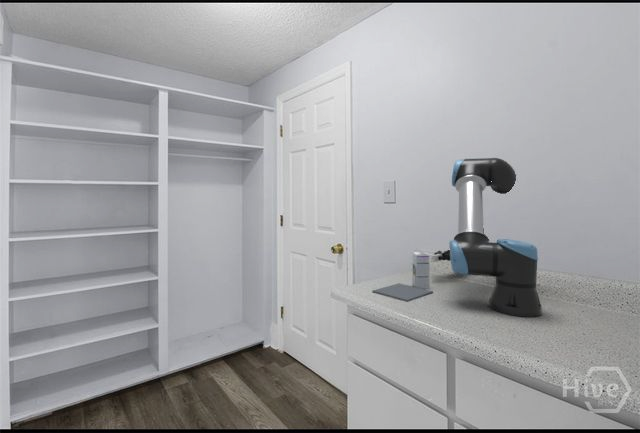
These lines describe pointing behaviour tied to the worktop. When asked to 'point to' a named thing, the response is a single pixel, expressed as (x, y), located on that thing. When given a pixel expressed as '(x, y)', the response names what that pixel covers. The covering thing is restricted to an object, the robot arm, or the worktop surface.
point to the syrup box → (421, 270)
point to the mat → (402, 292)
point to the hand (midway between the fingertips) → (432, 258)
